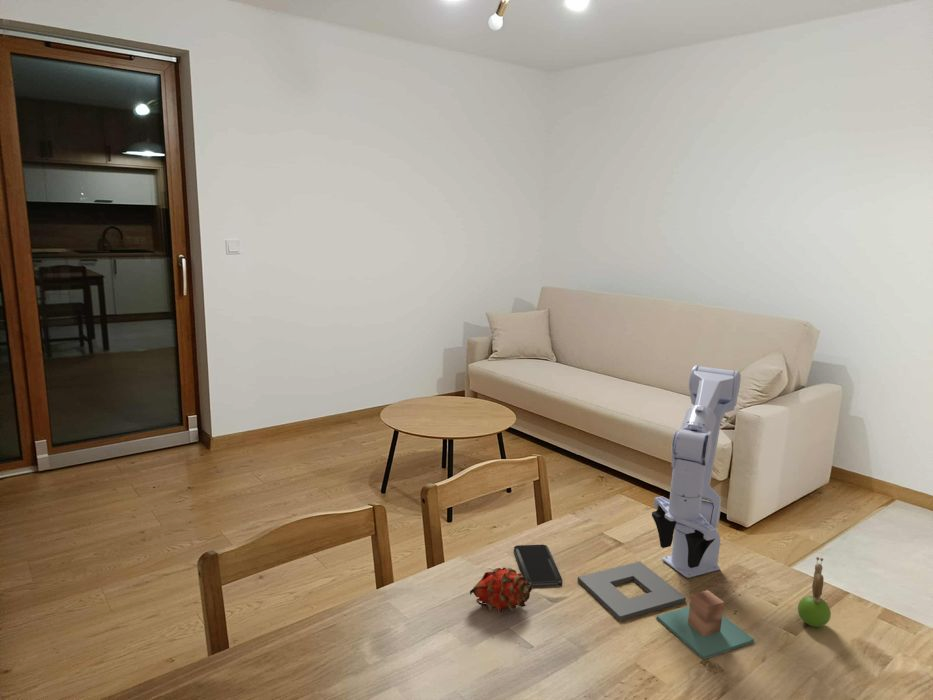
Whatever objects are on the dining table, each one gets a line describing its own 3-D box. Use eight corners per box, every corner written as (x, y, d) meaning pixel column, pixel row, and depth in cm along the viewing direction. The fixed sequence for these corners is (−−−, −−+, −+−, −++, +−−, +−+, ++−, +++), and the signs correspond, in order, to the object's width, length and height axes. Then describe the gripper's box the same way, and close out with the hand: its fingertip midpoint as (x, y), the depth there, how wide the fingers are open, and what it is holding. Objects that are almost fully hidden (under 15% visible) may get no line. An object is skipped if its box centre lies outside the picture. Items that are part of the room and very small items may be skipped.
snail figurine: (826, 616, 121) (836, 560, 118) (829, 636, 115) (839, 577, 112) (795, 608, 123) (803, 553, 120) (796, 627, 117) (805, 570, 115)
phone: (526, 584, 128) (513, 545, 142) (526, 589, 128) (513, 549, 142) (564, 582, 128) (547, 544, 143) (563, 587, 129) (547, 548, 143)
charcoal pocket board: (639, 565, 137) (639, 561, 136) (685, 601, 124) (686, 597, 124) (577, 581, 130) (577, 576, 130) (619, 621, 118) (620, 616, 118)
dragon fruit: (535, 617, 121) (474, 624, 121) (529, 574, 126) (470, 580, 127) (535, 602, 114) (470, 609, 115) (528, 557, 120) (466, 564, 120)
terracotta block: (704, 618, 118) (707, 589, 117) (720, 631, 115) (724, 602, 113) (687, 623, 117) (691, 594, 115) (703, 636, 113) (707, 607, 112)
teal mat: (704, 604, 124) (704, 601, 124) (754, 642, 113) (754, 639, 113) (656, 618, 119) (656, 615, 119) (703, 659, 108) (703, 656, 108)
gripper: (644, 479, 124) (638, 541, 127) (698, 511, 111) (690, 580, 114) (672, 474, 127) (665, 535, 130) (727, 505, 114) (719, 572, 117)
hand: (679, 556), depth 122 cm, fingers open, 7 cm apart
